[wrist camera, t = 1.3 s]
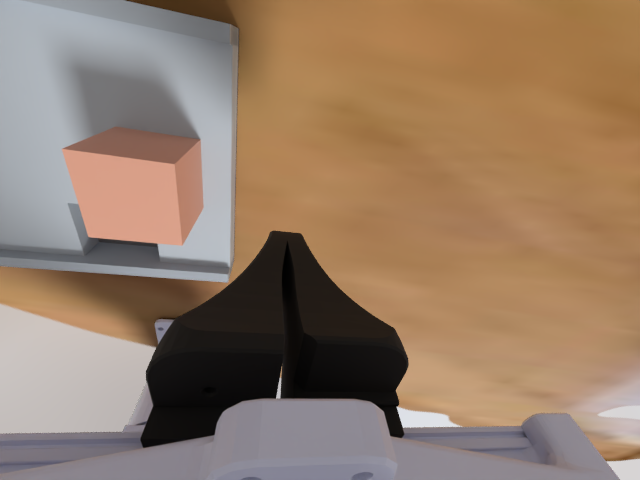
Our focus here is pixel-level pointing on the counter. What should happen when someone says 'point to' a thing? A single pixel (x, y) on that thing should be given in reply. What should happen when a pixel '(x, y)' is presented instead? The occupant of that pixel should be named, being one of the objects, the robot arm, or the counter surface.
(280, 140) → the counter surface
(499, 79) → the counter surface
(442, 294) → the counter surface
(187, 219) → the block
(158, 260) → the trap board
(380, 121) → the counter surface
